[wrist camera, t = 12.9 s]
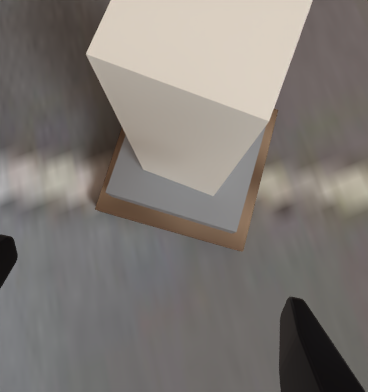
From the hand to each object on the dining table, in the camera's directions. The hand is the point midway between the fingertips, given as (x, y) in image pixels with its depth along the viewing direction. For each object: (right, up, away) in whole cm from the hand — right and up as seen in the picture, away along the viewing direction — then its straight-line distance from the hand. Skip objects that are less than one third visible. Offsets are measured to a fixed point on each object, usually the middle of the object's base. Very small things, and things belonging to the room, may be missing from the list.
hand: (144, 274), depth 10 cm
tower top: (+2, +5, +13) cm, 14 cm away
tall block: (+2, +6, +11) cm, 13 cm away
